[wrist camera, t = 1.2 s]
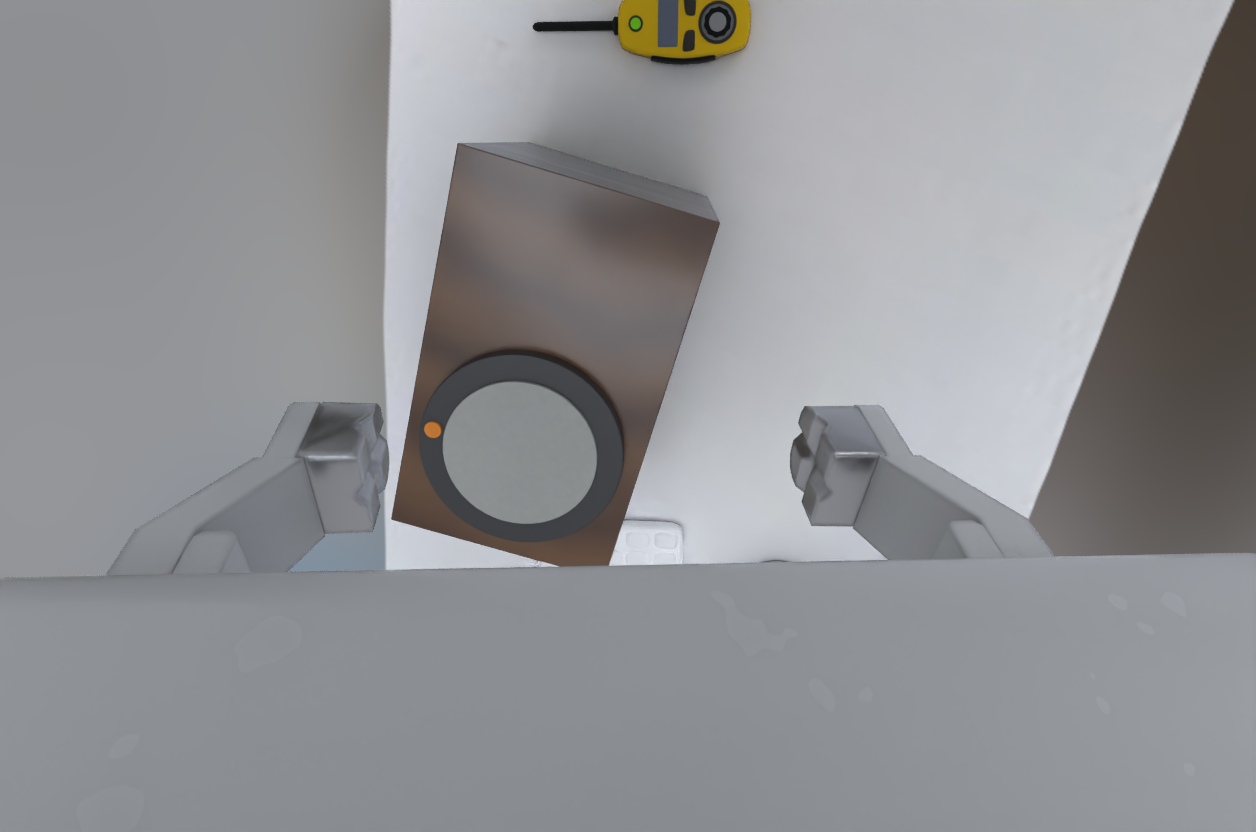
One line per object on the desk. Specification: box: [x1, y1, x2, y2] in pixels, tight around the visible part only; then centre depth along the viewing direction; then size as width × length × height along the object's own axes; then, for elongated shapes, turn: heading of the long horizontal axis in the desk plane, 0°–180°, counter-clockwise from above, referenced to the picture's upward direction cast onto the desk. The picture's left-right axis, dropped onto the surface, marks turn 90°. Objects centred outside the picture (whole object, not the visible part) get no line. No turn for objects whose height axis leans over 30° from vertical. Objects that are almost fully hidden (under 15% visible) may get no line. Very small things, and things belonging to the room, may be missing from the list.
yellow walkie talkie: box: [533, 0, 751, 65], centre depth 48 cm, size 5×2×15 cm
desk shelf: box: [391, 142, 720, 567], centre depth 48 cm, size 23×14×18 cm, turn 164°
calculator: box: [538, 520, 683, 567], centre depth 66 cm, size 13×20×2 cm, turn 0°
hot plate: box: [419, 350, 625, 542], centre depth 41 cm, size 12×12×1 cm
